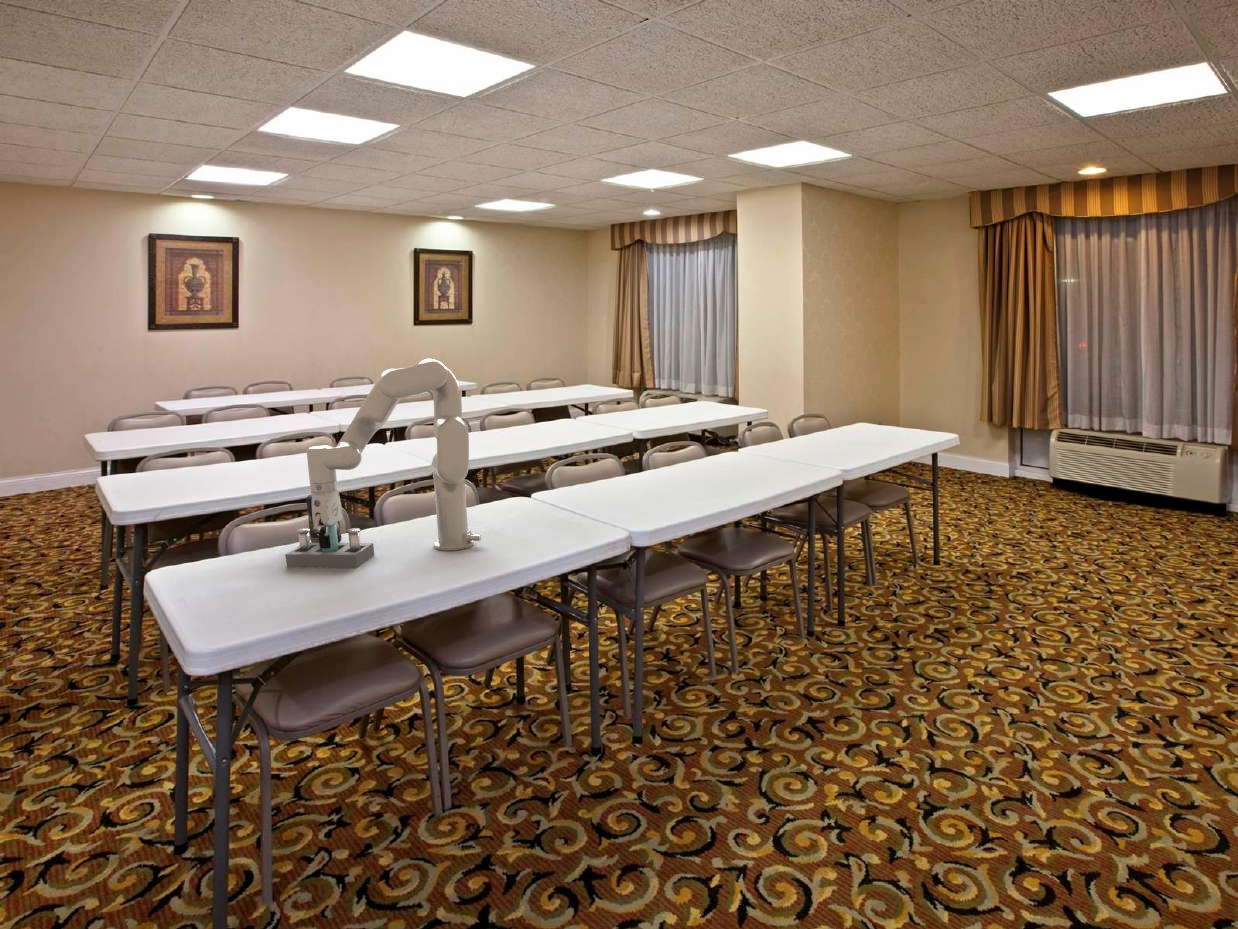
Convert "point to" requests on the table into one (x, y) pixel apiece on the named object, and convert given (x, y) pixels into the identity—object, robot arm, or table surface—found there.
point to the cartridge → (331, 538)
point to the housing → (330, 556)
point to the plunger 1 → (304, 539)
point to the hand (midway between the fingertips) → (329, 544)
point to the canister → (312, 532)
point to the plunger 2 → (354, 539)
